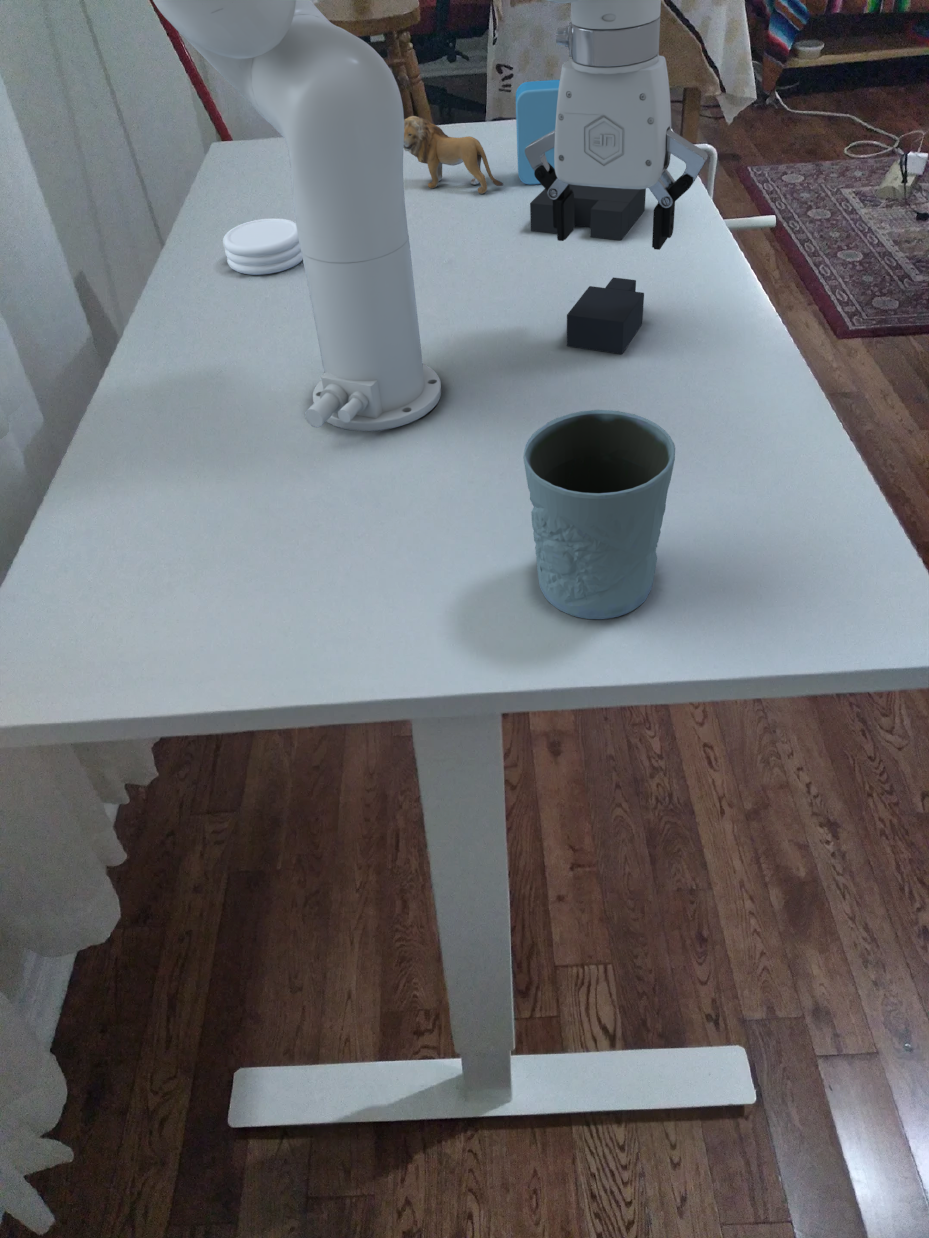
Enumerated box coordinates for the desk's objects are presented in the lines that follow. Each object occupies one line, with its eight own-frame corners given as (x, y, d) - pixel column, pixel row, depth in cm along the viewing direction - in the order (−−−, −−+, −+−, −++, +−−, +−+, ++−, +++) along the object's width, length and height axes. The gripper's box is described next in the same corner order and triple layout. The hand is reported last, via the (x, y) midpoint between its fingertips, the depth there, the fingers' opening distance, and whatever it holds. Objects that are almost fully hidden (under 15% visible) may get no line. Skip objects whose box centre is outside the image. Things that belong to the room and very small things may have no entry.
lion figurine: (399, 190, 137) (392, 122, 131) (413, 177, 141) (407, 110, 135) (497, 196, 133) (494, 125, 127) (509, 182, 137) (507, 113, 131)
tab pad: (622, 354, 98) (623, 322, 96) (566, 346, 100) (566, 314, 98) (649, 313, 105) (651, 281, 102) (597, 306, 107) (597, 275, 104)
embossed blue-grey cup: (650, 537, 77) (661, 404, 68) (675, 624, 69) (690, 486, 61) (522, 547, 77) (517, 415, 69) (533, 635, 69) (529, 499, 61)
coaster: (215, 275, 120) (208, 247, 118) (247, 243, 127) (241, 216, 125) (290, 278, 118) (284, 249, 116) (318, 245, 125) (313, 217, 122)
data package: (602, 169, 138) (604, 76, 130) (604, 180, 135) (607, 85, 126) (517, 174, 139) (515, 82, 130) (518, 186, 135) (515, 91, 127)
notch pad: (621, 240, 119) (622, 211, 117) (530, 231, 123) (529, 203, 121) (644, 210, 126) (646, 183, 123) (558, 202, 130) (558, 175, 127)
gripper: (506, 54, 84) (516, 247, 96) (703, 57, 78) (689, 264, 90) (537, 31, 89) (543, 218, 101) (725, 32, 83) (709, 232, 94)
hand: (612, 239), depth 95 cm, fingers open, 9 cm apart
